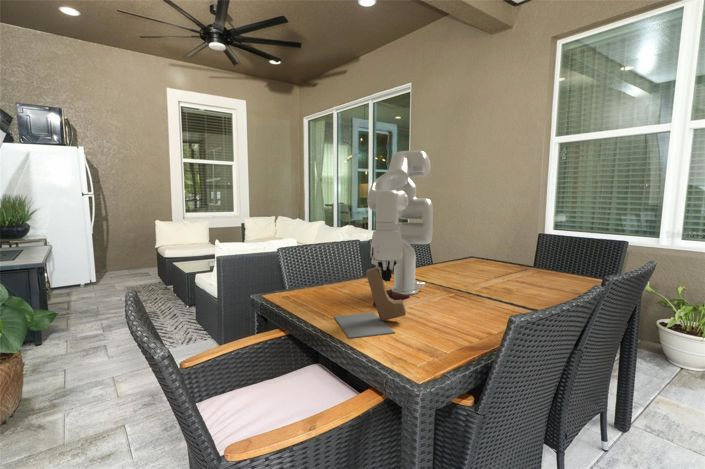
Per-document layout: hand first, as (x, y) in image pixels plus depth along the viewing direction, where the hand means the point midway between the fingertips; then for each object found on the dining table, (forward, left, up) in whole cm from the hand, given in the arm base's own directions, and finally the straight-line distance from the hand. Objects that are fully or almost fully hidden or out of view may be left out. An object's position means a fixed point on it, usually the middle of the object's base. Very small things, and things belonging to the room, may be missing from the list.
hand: (386, 280), depth 121 cm
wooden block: (-3, 0, -13) cm, 13 cm away
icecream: (-9, -17, -15) cm, 24 cm away
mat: (+8, 0, -15) cm, 17 cm away
